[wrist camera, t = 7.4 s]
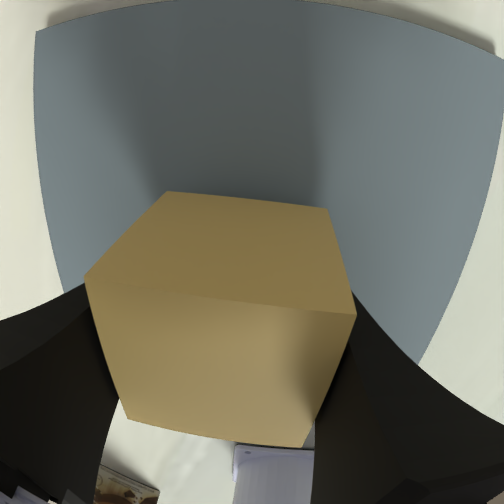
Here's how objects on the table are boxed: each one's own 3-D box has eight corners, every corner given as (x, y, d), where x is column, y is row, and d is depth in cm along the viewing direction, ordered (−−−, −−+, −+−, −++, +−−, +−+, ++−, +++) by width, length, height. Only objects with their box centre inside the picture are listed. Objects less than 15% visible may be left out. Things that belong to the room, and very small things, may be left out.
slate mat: (496, 61, 8) (508, 61, 7) (390, 395, 16) (392, 406, 16) (47, 32, 9) (36, 31, 8) (95, 358, 17) (90, 367, 17)
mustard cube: (327, 208, 10) (357, 314, 5) (301, 331, 12) (301, 447, 8) (167, 190, 10) (83, 276, 5) (172, 314, 12) (127, 418, 8)
